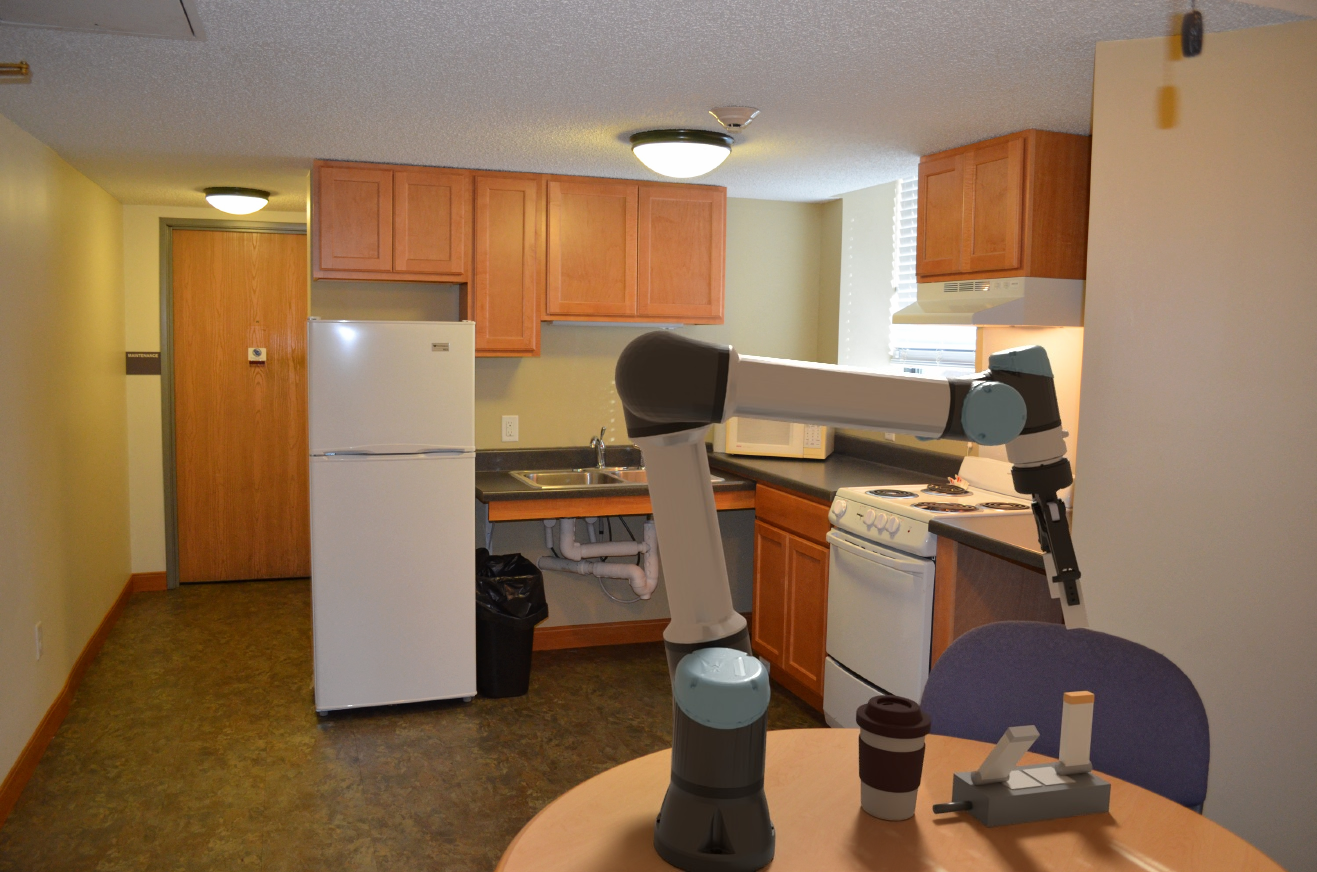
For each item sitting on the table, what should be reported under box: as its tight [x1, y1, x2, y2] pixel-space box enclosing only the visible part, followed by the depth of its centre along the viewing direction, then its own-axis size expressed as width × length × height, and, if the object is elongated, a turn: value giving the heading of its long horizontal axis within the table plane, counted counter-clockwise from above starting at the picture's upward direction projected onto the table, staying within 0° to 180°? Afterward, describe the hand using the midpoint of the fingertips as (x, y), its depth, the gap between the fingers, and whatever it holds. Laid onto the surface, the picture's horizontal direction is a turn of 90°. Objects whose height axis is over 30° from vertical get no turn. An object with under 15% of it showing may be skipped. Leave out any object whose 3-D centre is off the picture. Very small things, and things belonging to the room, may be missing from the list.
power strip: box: [931, 761, 1112, 828], centre depth 135 cm, size 26×8×4 cm, turn 108°
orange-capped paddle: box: [1055, 690, 1095, 775], centre depth 137 cm, size 5×2×12 cm, turn 108°
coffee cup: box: [855, 694, 932, 821], centre depth 132 cm, size 10×10×15 cm
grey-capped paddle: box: [971, 724, 1041, 785], centre depth 130 cm, size 5×2×12 cm
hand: (1069, 611), depth 132 cm, fingers open, 13 cm apart
